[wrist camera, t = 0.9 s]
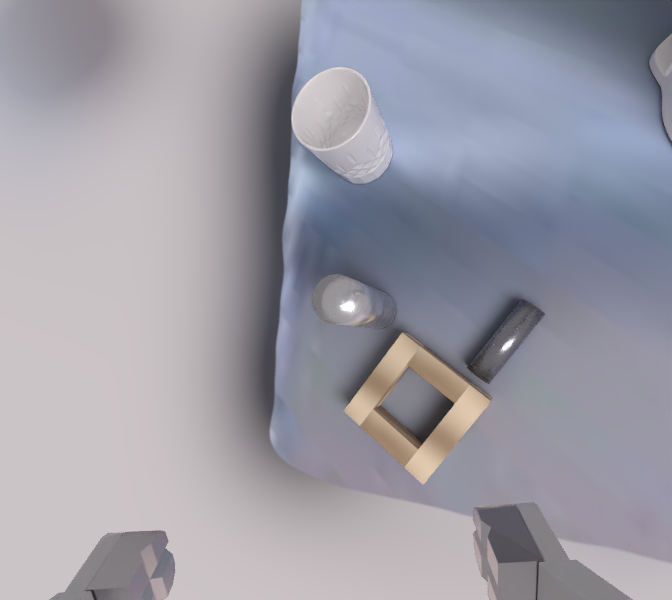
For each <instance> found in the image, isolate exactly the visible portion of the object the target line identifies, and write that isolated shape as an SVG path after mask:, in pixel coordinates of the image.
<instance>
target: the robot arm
mask: <svg viewBox="0 0 672 600" xmlns="http://www.w3.org/2000/svg"><path fill="white" fill-rule="evenodd" d="M649 64H650V68H651V71H652V73H653V75H654V77H655V78H656V80H657V82H658V83H659V85H660V86H661V90H662V116H663V122H664V125H665V128H666V131H667V133H668V135H669V137H670V139H671V141H672V34H670V35H669V36H668V37H667V38H666V39H665V40H664V41H663V42H662V43H661V44H660V45H659V46H658V47H657V48H656V50H655V51H654V52H653V54H652V55H651V57H650V60H649ZM473 521H474V523H475V526H476V529H477V530H476V531H475V532H474V534H473V536H474V548H475V554H476V559H477V563H478V566H479V569H480V573H481V576H482V577H483V578H484V579H485V580H486V581H487V582H488V596H489V599H490V600H632V599H631V598H630V597H628V596H627V595H625V594H624V593H623V592H621V591H619V590H618V589H617V588H615V587H614V586H613V585H611V584H610V583H608V582H607V581H606V580H604V579H603V578H601V577H600V576H598V575H597V574H595V573H594V572H593V571H591V570H590V569H589V568H587V567H586V566H584V565H583V564H581V563H580V562H579V561H577V560H569V558H568V556H567V554H566V553H565V551H564V550H563V548H562V546H561V544H560V543H559V541H558V539H557V538H556V536H555V534H554V532H553V531H552V529H551V527H550V526H549V524H548V522H547V521H546V519H545V517H544V515H543V514H542V512H541V510H540V509H539V507H538V505H536V504H535V503H534V502H533V503H521V504H514V505H512V504H509V505H497V506H485V507H474V509H473ZM167 543H168V539H167V536H166V533H165V532H164V531H139V532H125V533H108V534H106V535H105V536H103V537H102V538H101V539H100V541H99V542H98V544H97V545H96V547H95V548H94V550H93V551H92V553H91V554H90V556H89V557H88V558H87V560H86V562H85V563H84V564H83V566H82V567H81V569H80V570H79V572H78V573H77V575H76V576H75V577H74V579H73V580H72V582H71V583H70V585H69V586H68V588H67V589H66V591H65V592H64V593H58V594H56V595H55V596H54V597H52V598H51V599H50V600H164V599H165V598H166V597H167V596H168V594H169V592H170V589H171V587H172V585H173V580H174V573H175V562H174V558H173V555H172V553H170V552H169V551H168V550H167V549H165V547H166V545H167Z"/></svg>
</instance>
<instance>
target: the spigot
mask: <svg viewBox="0 0 672 600" xmlns="http://www.w3.org/2000/svg"><path fill="white" fill-rule="evenodd" d="M312 300H313V307H314V310H315V312H316V314H317V315H318V316H319V317H320V318H321V319H322V320H323V321H325V322H327V323H331V324H339V325H347V326H356V327H364V328H372V329H383V328H385V327H387V326H389V325H390V324H391V323H392V322H393V320H394V319H395V316H396V311H397V309H396V304H395V302H394V300H393V298H392V297H391V296H390V295H388V294H386V293H384V292H382V291H379V290H377V289H375V288H372V287H370V286H368V285H365V284H363V283H361V282H358V281H356V280H354V279H351V278H349V277H347V276H344V275H341V274H332V275H329V276H326V277H325V278H323V279H322V280H321V281H320V282H319V283H318V284H317V286H316V288H315V290H314V293H313V299H312Z"/></svg>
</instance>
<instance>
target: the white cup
mask: <svg viewBox="0 0 672 600" xmlns="http://www.w3.org/2000/svg"><path fill="white" fill-rule="evenodd" d="M291 122H292V128H293V131H294V134H295V136H296V137H297V139H298V140H299V141H300V142H301V143H302V144H303V145H304V146H305V147H306V148H307V149H309V150H310V151H311V152H312V153H313V154H314V155H315V156H317V157H318V158H319V159H320V160H321V161H322V162H323V163H325V164H326V165H327V166H329V167H330V168H331V169H332V170H333V171H335V172H336V173H338V174H339V175H340V176H341V177H343V178H344V179H346V180H348V181H350V182H351V183H353V184H366V183H369V182H371V181H373V180H375V179H377V178H379V177H380V176H381V175H382V174H383V173H384V171H385V170H386V169H387V168H388V166H389V164H390V161H391V158H392V156H393V150H392V141H391V138H390V136H389V134H388V131H387V128H386V125H385V122H384V120H383V117H382V115H381V112H380V110H379V108H378V105H377V103H376V101H375V99H374V97H373V94H372V92H371V90H370V87H369V85H368V83H367V81H366V79H365V78H364V77H363V76H362V75H361V74H360V73H359V72H357V71H356V70H354V69H351V68H347V67H333V68H329V69H326V70H324V71H322V72H320V73H318V74H316V75H315V76H314V77H312V78H311V79H310V80H309V81H308V82H307V83H306V84H305V85H304V86H303V87H302V89H301V90H300V92H299V93H298V95H297V97H296V99H295V102H294V105H293V109H292V115H291Z"/></svg>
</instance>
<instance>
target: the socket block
mask: <svg viewBox="0 0 672 600" xmlns="http://www.w3.org/2000/svg"><path fill="white" fill-rule="evenodd" d="M409 367H410V368H412V369H413V370H414V371H415V372H416V373H418V374H419V375H420V376H421V377H423V378H424V379H425V380H426V381H428V382H429V383H430V384H431V385H433V386H434V387H435V388H436V389H438V390H439V391H440V392H441V393H442V394H444V395H445V396H446V397H447V398H449V399H450V400H451V401H452V402H454V403H455V404H454V406H453V407H452V408H451V409H450V411H449V412H448V413H447V414H446V416H445V417H444V418H443V419H442V421H441V422H440V423H439V424H438V426H437V427H436V428H435V429H434V431H433V432H432V433H431V434H430V436H429V437H428V438H427V439H426V441H425V442H424V443H422V442H421V441H420V440H419V439H417V438H416V437H415V436H414V435H413V434H412V433H411V432H409V431H408V430H407V429H406V428H405V427H404V426H403V425H402V424H400V423H399V422H398V421H397V420H396V419H395V418H394V417H392V416H391V415H390V414H389V413H388V412H387V411H386V410H385V409H383V408H382V407H381V406H380V405H381V403H382V402H383V401H384V399H385V398H386V397H387V396H388V394H389V393H390V392H391V390H392V389H393V388H394V386H395V385H396V384H397V382H398V381H399V380H400V378H401V377H402V376H403V375H404V373H405V372H406V371H407V369H408V368H409ZM491 399H492V398H491V397H490V396H489V395H487V394H486V393H485V392H484V391H482V390H481V389H480V388H478V387H477V386H476V385H474V384H473V383H472V382H471V381H469V380H468V379H467V378H465V377H464V376H463V375H461V374H460V373H459V372H458V371H456V370H455V369H454V368H452V367H451V366H450V365H448V364H447V363H446V362H445V361H443V360H442V359H441V358H439V357H438V356H437V355H436V354H434V353H433V352H432V351H430V350H429V349H428V348H426V347H425V346H424V345H423V344H421V343H420V342H419V341H417V340H416V339H415V338H413V337H412V336H411V335H410V334H408V333H401V335H400V336H399V337H398V339H397V340H396V341H395V343H394V344H393V345H392V347H391V348H390V349H389V351H388V352H387V354H386V355H385V356H384V358H383V359H382V360H381V362H380V363H379V364H378V366H377V367H376V368H375V370H374V371H373V372H372V374H371V375H370V376H369V378H368V379H367V380H366V382H365V383H364V384H363V386H362V387H361V388H360V390H359V391H358V392H357V394H356V395H355V396H354V398H353V399H352V400H351V402H350V403H349V404H348V406H347V407H346V408H345V410H344V412H345V413H346V414H348V415H349V416H350V417H351V418H352V419H353V420H354V421H355V422H356V423H357V424H358V425H359V426H360V427H362V428H363V429H364V430H365V431H366V432H367V433H368V434H369V435H370V436H371V437H372V438H373V439H374V440H376V441H377V442H378V443H379V444H380V445H381V446H382V447H383V448H384V449H385V450H386V451H387V452H388V453H390V454H391V455H392V456H393V457H394V458H395V459H396V460H397V461H398V462H399V463H400V464H401V465H402V466H404V467H405V468H406V469H407V470H408V471H409V472H410V473H411V474H412V475H413V476H414V477H415V478H416V479H417V480H419V481H420V482H421V483H422V484H424V483H425V482H426V480H427V479H428V478H429V477H430V476H431V474H432V473H433V472H434V471H435V469H436V468H437V467H438V466H439V465H440V463H441V462H442V461H443V460H444V458H445V457H446V456H447V455H448V453H449V452H450V451H451V450H452V449H453V447H454V446H455V445H456V444H457V442H458V441H459V440H460V439H461V437H462V436H463V435H464V434H465V433H466V431H467V430H468V429H469V428H470V426H471V425H472V424H473V423H474V422H475V420H476V419H477V418H478V417H479V415H480V414H481V413H482V412H483V410H484V409H485V408H486V407H487V406H488V404H489V403H490V402H491Z"/></svg>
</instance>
